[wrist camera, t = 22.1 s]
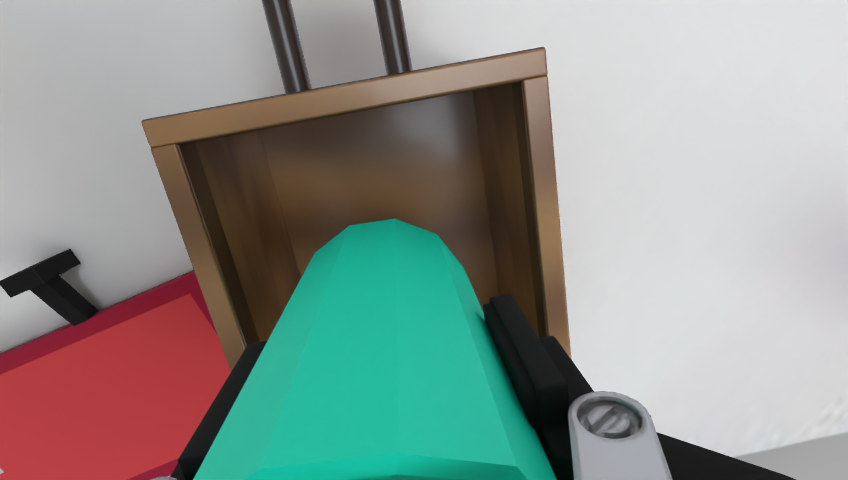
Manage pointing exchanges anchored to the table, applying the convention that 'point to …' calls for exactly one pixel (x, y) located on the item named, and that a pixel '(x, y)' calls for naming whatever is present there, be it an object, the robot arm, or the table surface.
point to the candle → (379, 375)
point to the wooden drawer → (368, 177)
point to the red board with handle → (107, 381)
